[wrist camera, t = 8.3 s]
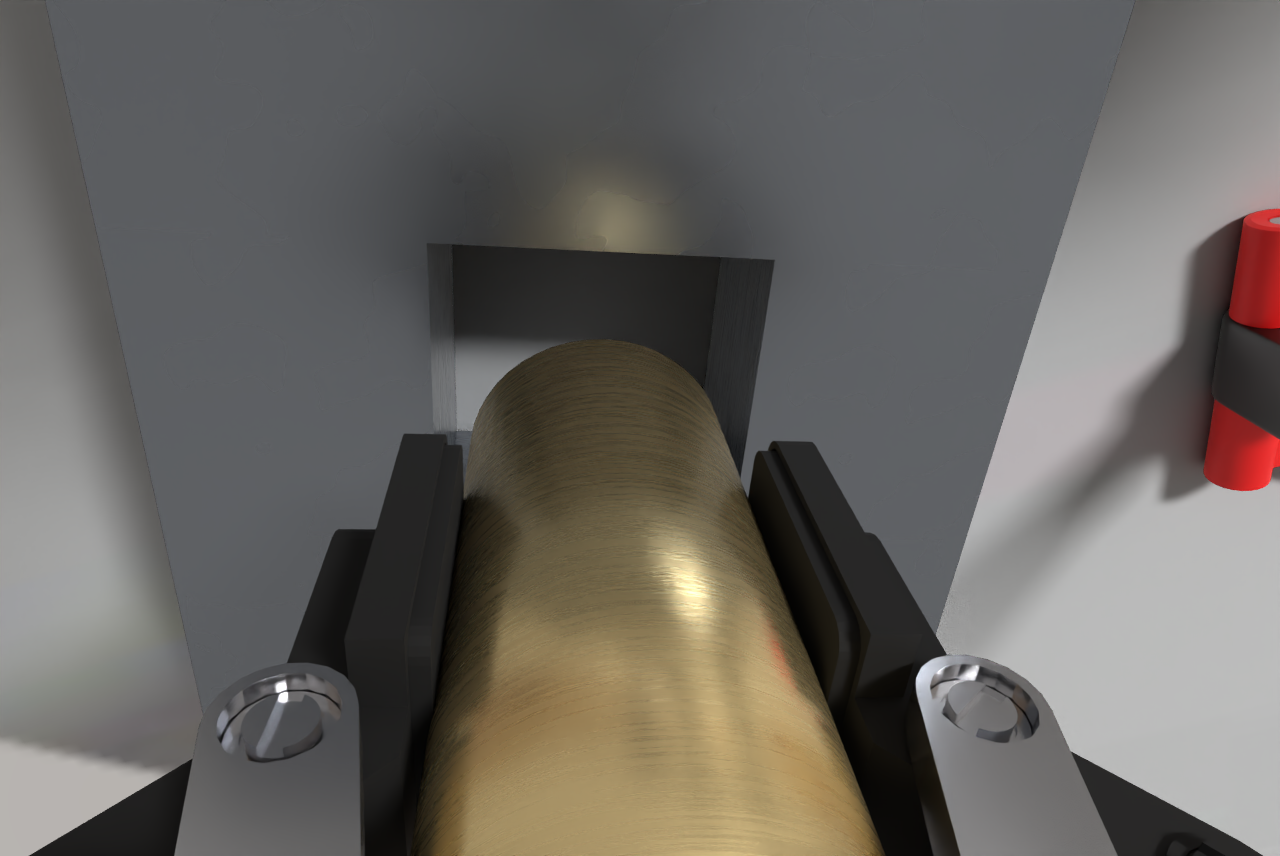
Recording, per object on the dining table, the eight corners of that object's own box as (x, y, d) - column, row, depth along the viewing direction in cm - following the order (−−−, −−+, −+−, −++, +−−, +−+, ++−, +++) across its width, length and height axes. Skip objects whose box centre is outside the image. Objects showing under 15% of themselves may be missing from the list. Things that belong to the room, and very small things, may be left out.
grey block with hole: (70, -576, 12) (-133, -805, 8) (1108, -415, 13) (1306, -544, 10) (266, 629, 21) (213, 760, 18) (847, 625, 23) (900, 743, 20)
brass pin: (468, 334, 13) (240, 1521, 3) (735, 343, 13) (1267, 1388, 4) (471, 555, 15) (334, 1729, 5) (705, 557, 15) (998, 1621, 5)
